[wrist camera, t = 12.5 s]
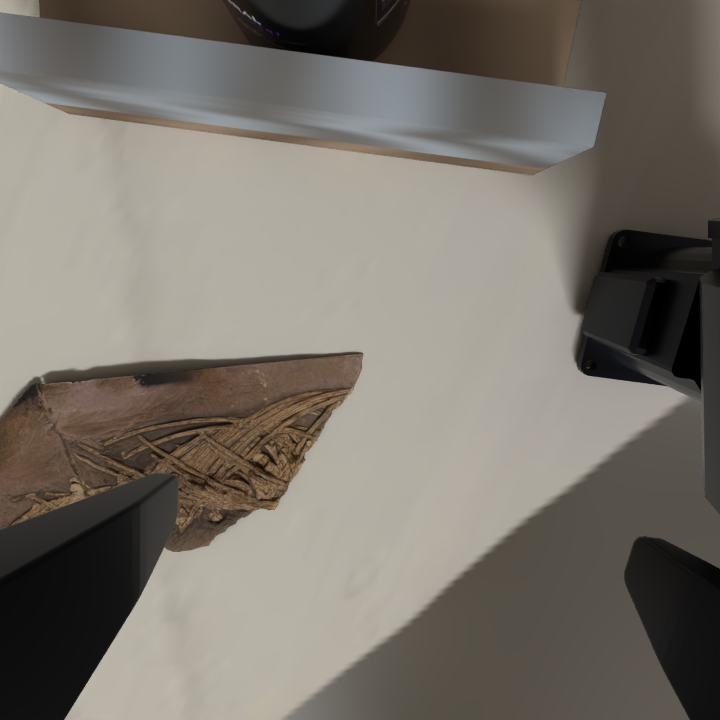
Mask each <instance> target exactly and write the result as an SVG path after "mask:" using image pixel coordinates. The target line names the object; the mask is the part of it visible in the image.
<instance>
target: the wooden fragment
mask: <svg viewBox="0 0 720 720" xmlns="http://www.w3.org/2000/svg"><path fill="white" fill-rule="evenodd" d="M362 358H363V353H362V354H353V355H343V356H330V357H321V358H311V359H302V360H291V361H280V362H274V363H260V364H248V365H238V366H229V367H219V368H208V369H197V370H189V371H180V372H173V373H163V374H147V375H143V376H142V375H138V376H137V375H134V376H125V377H111V378H103V379H92V380H88V381H81V382H78V381H76V382H75V383H74V384H73V383H72V382H59V383H50V384H39V385H38V384H34V385H31V386H30V388H29V389H27V391H26V392H25V393H24V394H23V396H22V397H21V398H20V399H19V400H18V401H19V402H18V403H16V404H15V405H14V406H13V408H12V409H11V410H10V411H9V413H8V414H7V416H6V417H5V419H4V420H3V421H2V422H1V423H0V529H3V528H6V527H9V526H11V525H14V524H17V523H19V522H22V521H25V520H28V519H30V518H33V517H36V516H39V515H41V514H44V513H47V512H49V511H52V510H55V509H58V508H60V507H63V506H66V505H69V504H71V503H74V502H77V501H79V500H82V499H85V498H88V497H90V496H93V495H96V494H99V493H101V492H104V491H107V490H110V489H112V488H115V487H118V486H120V485H123V484H126V483H129V482H131V481H134V480H137V479H140V478H142V477H145V476H148V475H150V474H153V473H165V474H172V475H175V476H176V477H177V478H178V482H179V488H178V515H177V520H176V523H175V526H174V528H173V530H172V532H171V534H170V536H169V538H168V540H167V542H166V545H165V548H166V549H167V550H170V551H173V552H181V551H187V550H193V549H196V548H199V547H204V546H209V544H210V542H211V541H212V540H213V539H214V538H215V537H216V535H218V534H221V533H223V532H225V531H226V529H227V528H228V527H229V526H232V525H234V524H236V522H237V520H238V519H240V518H241V517H246V516H248V515H249V514H251V513H252V512H253V511H255V510H257V509H259V508H263V509H268V510H275V508H276V506H277V505H278V503H279V500H280V498H281V497H282V496H283V495H284V494H285V492H286V491H287V489H288V485H289V483H290V481H291V480H292V479H293V477H294V476H295V475H296V474H297V473H298V472H299V470H300V468H301V466H302V464H303V463H304V461H305V459H304V455H305V453H306V452H307V451H308V450H309V449H310V448H311V447H312V445H313V444H314V443H315V442H316V441H317V438H318V437H319V435H320V433H321V431H322V429H323V428H324V425H325V423H326V421H327V420H328V419H329V417H330V416H331V414H332V411H333V410H334V409H336V408H337V407H338V406H340V405H341V404H342V403H343V401H344V400H345V399H346V397H347V396H348V395H350V394H351V393H352V391H353V390H354V386H355V384H356V381H357V379H358V377H359V375H360V372H361V369H362ZM39 386H40V389H41V390H39ZM40 391H41V392H40ZM41 393H42V395H41Z"/></svg>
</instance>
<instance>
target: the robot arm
mask: <svg viewBox="0 0 720 720" xmlns="http://www.w3.org/2000/svg"><path fill="white" fill-rule="evenodd" d="M621 237H624V238H625V244H624V246H623V247H620V246H619V244H618V241H619V239H620V238H621ZM708 238H712V241H709V240H701V239H693V238H686V237H678V236H671V235H663V234H656V233H648V232H640V231H633V230H618V231H616V232H614V233H613V234H612V235H611V236H610V237H609V240H608V243H607V247H606V251H605V255H604V258H603V262H602V266H601V270H600V273H599V274H597V275H596V276H595V278H594V281H593V285H592V289H591V293H590V297H589V301H588V305H587V309H586V313H585V317H584V321H583V325H582V331H583V333H584V337H583V341H582V345H581V349H580V353H579V356H578V360H577V367H578V370H580V371H581V372H582V373H584V374H585V375H588V376H595V377H602V378H610V379H617V380H625V381H632V382H640V383H648V384H655V385H663V386H668V387H670V388H673V389H675V390H677V391H679V392H681V393H683V394H685V395H688V396H690V397H692V398H694V399H696V400H698V401H700V402H701V411H702V470H703V486H704V492H705V497H706V499H707V500H708V501H709V502H710V503H711V505H712V506H713V507H714V508H715V509H716V511H717V512H718V513H719V514H720V218H717V219H712V220H708ZM590 360H593V365H592V367H590V368H586V364H587V362H588V361H590ZM178 488H179V482H178V478H177V477H176V476H175V475H172V474H165V473H153V474H150V475H148V476H145V477H142V478H140V479H137V480H134V481H131V482H129V483H126V484H123V485H120V486H118V487H115V488H112V489H110V490H107V491H104V492H101V493H99V494H96V495H93V496H90V497H88V498H85V499H82V500H79V501H77V502H74V503H71V504H69V505H66V506H63V507H60V508H58V509H55V510H52V511H49V512H47V513H44V514H41V515H39V516H36V517H33V518H30V519H28V520H25V521H22V522H19V523H17V524H14V525H11V526H9V527H6V528H3V529H0V720H64V719H65V718H66V716H67V714H68V713H69V711H70V710H71V708H72V706H73V705H74V703H75V702H76V700H77V698H78V697H79V695H80V693H81V692H82V690H83V689H84V687H85V685H86V684H87V682H88V681H89V679H90V677H91V676H92V674H93V672H94V671H95V669H96V668H97V666H98V664H99V663H100V661H101V660H102V658H103V656H104V655H105V653H106V652H107V650H108V648H109V647H110V645H111V643H112V642H113V640H114V639H115V637H116V635H117V634H118V632H119V631H120V629H121V627H122V626H123V624H124V622H125V621H126V619H127V618H128V616H129V614H130V613H131V611H132V610H133V608H134V606H135V604H136V603H137V601H138V599H139V598H140V596H141V594H142V592H143V590H144V588H145V586H146V584H147V582H148V580H149V578H150V576H151V574H152V572H153V569H154V567H155V565H156V563H157V561H158V559H159V557H160V555H161V553H162V551H163V549H164V547H165V545H166V542H167V540H168V538H169V536H170V534H171V532H172V530H173V528H174V526H175V523H176V520H177V515H178ZM624 580H625V584H626V587H627V589H628V592H629V594H630V596H631V598H632V601H633V603H634V605H635V608H636V610H637V612H638V615H639V617H640V619H641V622H642V624H643V626H644V628H645V631H646V633H647V635H648V638H649V640H650V642H651V645H652V647H653V649H654V652H655V654H656V656H657V658H658V660H659V662H660V664H661V667H662V668H663V671H664V672H665V674H666V676H667V678H668V680H669V682H670V684H671V686H672V687H673V690H674V691H675V693H676V695H677V697H678V699H679V700H680V702H681V704H682V706H683V708H684V710H685V712H686V714H687V715H688V717H689V719H690V720H720V569H719V568H717V567H715V566H713V565H712V564H710V563H708V562H706V561H704V560H702V559H700V558H698V557H696V556H694V555H692V554H690V553H689V552H686V551H685V550H683V549H681V548H679V547H677V546H675V545H673V544H671V543H669V542H667V541H665V540H663V539H661V538H655V537H648V536H639V537H637V538H636V539H635V540H634V543H633V545H632V549H631V552H630V555H629V558H628V561H627V564H626V567H625V571H624Z"/></svg>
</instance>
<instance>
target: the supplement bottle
mask: <svg viewBox="0 0 720 720" xmlns="http://www.w3.org/2000/svg"><path fill="white" fill-rule="evenodd" d="M410 1H411V0H223V2H224V4H225V5H226V7H227V9H228V10H229V12H230V14H231V15H232V17H233V19H234V20H235V22H236V23H237V25H238V26H239V28H240V29H241V31H242V32H243V34H244V35H245V37H246V38H247V40H248V41H249V42H250V43H251V45H252V46H257V47H264V48H272V49H279V50H287V51H294V52H302V53H309V54H317V55H324V56H332V57H340V58H347V59H355V60H362V61H370V62H373V61H374V60H375V59H377V58H378V57H379V56H380V55H381V54H382V53H383V52H384V51H385V49H386V48H387V47H388V46H389V45H390V43H391V42H392V41H393V39H394V38H395V36H396V35H397V33H398V31H399V29H400V27H401V25H402V23H403V21H404V19H405V16H406V13H407V11H408V8H409V5H410Z"/></svg>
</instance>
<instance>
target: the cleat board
mask: <svg viewBox="0 0 720 720" xmlns="http://www.w3.org/2000/svg"><path fill="white" fill-rule="evenodd" d="M581 1H582V0H411V1H410V5H409V8H408V11H407V13H406V16H405V19H404V21H403V23H402V25H401V27H400V29H399V31H398V33H397V35H396V36H395V38H394V39H393V41H392V42H391V43H390V45H389V46H388V47H387V48H386V49H385V51H384V52H383V53H382V54H381V55H380V56H379V57H378V58H377V59H375V60H374V61H373V62H370V61H362V60H355V59H347V58H340V57H332V56H324V55H317V54H309V53H302V52H294V51H287V50H279V49H272V48H264V47H257V46H252V45H251V43H250V42H249V41H248V40H247V38H246V37H245V35H244V34H243V32H242V31H241V29H240V28H239V26H238V25H237V23H236V22H235V20H234V19H233V17H232V15H231V14H230V12H229V10H228V9H227V7H226V5H225V4H224V2H223V0H39V4H40V18H38V17H30V16H23V15H15V14H8V13H0V84H3V85H5V86H7V87H9V88H12V89H14V90H16V91H18V92H21V93H23V94H25V95H27V96H30V97H32V98H34V99H36V100H39V101H41V102H43V103H46V104H48V105H50V106H52V107H55V108H57V109H59V110H61V111H64V112H66V113H68V114H75V115H82V116H90V117H97V118H105V119H112V120H120V121H127V122H135V123H143V124H150V125H158V126H165V127H173V128H180V129H188V130H195V131H203V132H211V133H218V134H226V135H233V136H241V137H248V138H256V139H263V140H271V141H279V142H286V143H294V144H301V145H309V146H316V147H324V148H331V149H339V150H347V151H354V152H362V153H369V154H377V155H384V156H392V157H399V158H407V159H415V160H422V161H430V162H437V163H445V164H452V165H460V166H467V167H475V168H483V169H490V170H498V171H505V172H513V173H520V174H528V175H534V174H536V173H538V172H540V171H543V170H545V169H547V168H549V167H551V166H553V165H555V164H558V163H560V162H562V161H564V160H566V159H568V158H571V157H573V156H575V155H577V154H579V153H581V152H584V151H586V150H588V149H590V148H592V147H594V144H595V140H596V135H597V131H598V127H599V123H600V118H601V114H602V110H603V106H604V102H605V97H606V93H604V92H596V91H588V90H581V89H573V88H566V87H563V86H564V81H565V76H566V72H567V67H568V62H569V58H570V53H571V48H572V44H573V39H574V34H575V30H576V25H577V20H578V16H579V11H580V6H581Z"/></svg>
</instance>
